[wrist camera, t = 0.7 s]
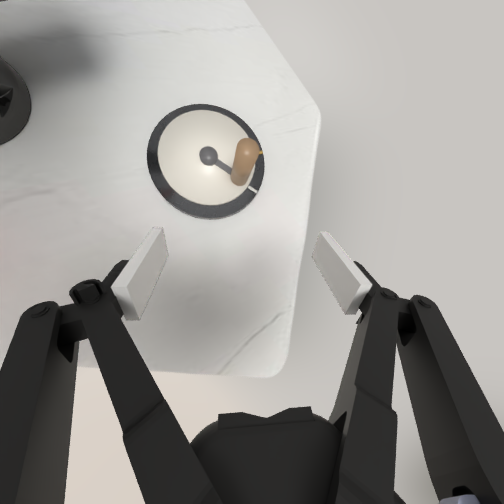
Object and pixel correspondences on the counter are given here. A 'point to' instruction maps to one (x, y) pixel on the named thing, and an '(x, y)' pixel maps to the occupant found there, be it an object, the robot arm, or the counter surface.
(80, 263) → the counter surface
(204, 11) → the counter surface
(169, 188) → the dial base
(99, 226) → the counter surface
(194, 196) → the dial
